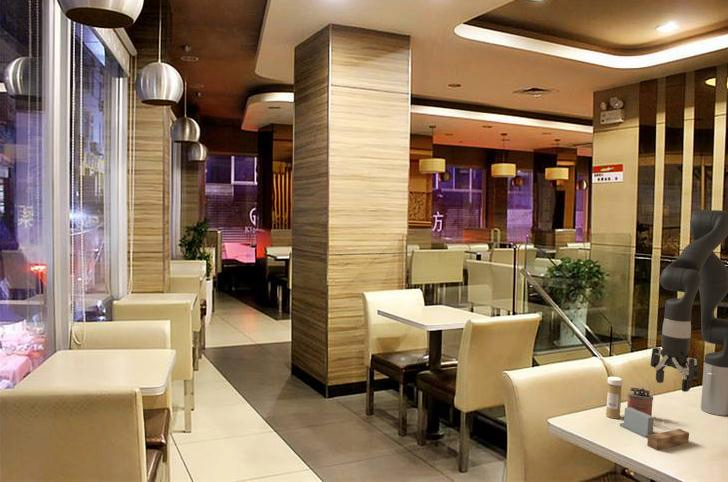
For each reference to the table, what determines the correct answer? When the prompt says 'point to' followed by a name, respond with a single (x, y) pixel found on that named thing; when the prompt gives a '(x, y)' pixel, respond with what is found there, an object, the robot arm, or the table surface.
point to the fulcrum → (638, 422)
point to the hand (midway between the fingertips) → (672, 386)
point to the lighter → (640, 400)
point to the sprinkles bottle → (614, 397)
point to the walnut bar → (668, 439)
